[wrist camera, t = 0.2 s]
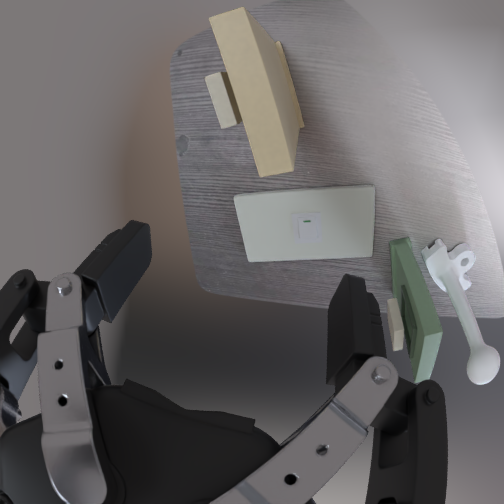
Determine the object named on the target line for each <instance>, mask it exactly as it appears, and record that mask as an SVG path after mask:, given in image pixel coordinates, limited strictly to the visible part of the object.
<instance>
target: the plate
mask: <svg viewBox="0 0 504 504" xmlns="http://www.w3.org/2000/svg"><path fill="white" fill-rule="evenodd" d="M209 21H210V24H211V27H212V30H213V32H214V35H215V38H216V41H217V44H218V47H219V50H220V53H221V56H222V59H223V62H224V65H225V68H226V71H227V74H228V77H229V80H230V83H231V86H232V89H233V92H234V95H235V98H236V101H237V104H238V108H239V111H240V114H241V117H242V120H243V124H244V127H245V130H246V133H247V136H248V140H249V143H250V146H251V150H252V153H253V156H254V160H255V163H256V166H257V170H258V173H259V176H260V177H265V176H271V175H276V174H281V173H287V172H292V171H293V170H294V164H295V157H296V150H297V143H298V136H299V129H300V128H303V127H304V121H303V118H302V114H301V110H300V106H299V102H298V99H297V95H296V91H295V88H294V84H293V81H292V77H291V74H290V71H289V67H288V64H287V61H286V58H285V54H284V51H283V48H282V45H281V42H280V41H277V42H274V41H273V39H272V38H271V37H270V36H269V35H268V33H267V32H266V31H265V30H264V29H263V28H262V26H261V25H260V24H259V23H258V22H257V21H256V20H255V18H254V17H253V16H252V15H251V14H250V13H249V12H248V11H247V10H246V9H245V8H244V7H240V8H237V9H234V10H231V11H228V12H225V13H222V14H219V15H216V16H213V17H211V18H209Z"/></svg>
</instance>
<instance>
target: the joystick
mask: <svg viewBox="0 0 504 504" xmlns="http://www.w3.org/2000/svg"><path fill="white" fill-rule="evenodd" d="M421 254H422V257H423V259H424V262H425V264H426V266H427V268H428V270H429V273H430V275H431V277H432V278H433V280H434V281H435V283H436V284H437V285H438V286H439V287H440V288H441V289H442V290H443V291H445V292H446V293H448V295H449V297H450V299H451V301H452V304H453V306H454V308H455V310H456V313H457V315H458V318H459V320H460V322H461V325H462V327H463V330H464V332H465V335H466V338H467V340H468V343H469V346H470V350H471V353H470V358H469V360H468V363H467V375H468V377H469V379H470V380H471V381H472V382H473V383H475V384H479V385H482V384H486V383H488V382H490V381H491V380H492V379H493V378H494V377H495V376H496V374H497V372H498V370H499V367H500V356H499V354H498V352H497V350H496V349H495V348H493V347H491V346H488V345H486V344H485V343H484V341H483V338H482V335H481V332H480V329H479V327H478V324H477V321H476V319H475V316H474V313H473V311H472V308H471V306H470V304H469V301H468V299H467V296H466V294H465V292H464V291H465V290H467V289H468V288H469V287H470V286H471V284H472V282H471V281H470V279H469V277H468V275H467V274H464V273H465V272H466V271H468V270H469V269H470V268H471V267H472V266H473V264H474V262H475V254H474V252H473V251H472V249H471V248H470V246H469V245H468V244H465V243H463V244H459V245H457V246H456V247H455V248H454V249H453V250H452V251H451V252H447V248H446V246H445V244H444V243H443V241H442V240H441V239H437V240H436V241H435V244H434V245H433V246H432V247H431V248H430V249H428V247H427V246H426V247H425V248H424V249H423V250H422V251H421Z"/></svg>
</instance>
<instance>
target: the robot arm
mask: <svg viewBox="0 0 504 504" xmlns="http://www.w3.org/2000/svg"><path fill="white" fill-rule="evenodd" d="M150 236H151V235H150V226H149V225H148V224H146V223H143V222H138V221H134V220H131V221H129V223H127V224H126V226H125V227H124V228H123V229H122V230H121V229H118V230H116V231H114V232H112V233H110V234H109V235H108V236H107V237H106V238H105V239H104V240H103V241H102V242H101V244H99V245H98V246H97V247H96V248H95V250H93V251H92V252H91V254H90V255H89V256H88V257H87V258H86V259H85V260H84V261H83V262H82V264H81V265H80V266H79V267H78V268H77V269H76V270H75V272H74V273H63V274H60V275H58V276H57V277H55V278H54V279H53V280H52V281H51V282H48V281H37V280H36V277H35V275H34V273H33V272H32V271H31V270H28V269H24V270H20V271H18V272H16V273H15V274H14V275H13V276H12V277H11V278H10V279H9V280H8V281H7V283H6V284H5V285H4V286H3V288H2V289H1V290H0V504H316V503H315V501H314V500H313V498H312V497H313V496H314V495H315V494H316V493H317V492H318V491H319V490H320V489H321V488H322V487H323V486H324V485H325V484H326V483H327V482H328V481H329V480H330V479H331V478H332V477H333V476H334V475H335V474H336V473H337V471H338V470H339V469H340V468H341V467H342V466H343V465H344V464H345V462H346V461H347V460H348V459H349V458H350V457H351V456H352V454H353V453H354V452H355V451H356V450H357V448H358V447H359V446H360V445H361V443H362V442H363V441H364V440H365V438H366V437H367V435H368V431H367V428H368V426H369V425H370V426H372V427H374V438H373V450H372V460H371V468H370V476H369V484H368V490H367V496H366V502H365V504H445V499H446V487H447V469H448V468H447V466H448V438H447V420H446V419H447V418H446V406H445V397H444V393H443V390H442V388H441V387H440V386H439V384H437V383H436V382H435V381H433V380H428V379H427V380H423V381H422V382H420V384H418V385H416V384H413V383H411V382H409V381H407V380H405V379H402V378H400V377H399V376H398V372H397V370H396V368H395V366H394V365H393V363H391V362H390V361H389V360H388V359H387V357H386V349H385V341H384V334H383V328H382V326H381V325H382V321H381V317H380V309H379V304H378V302H377V300H376V299H375V297H374V295H373V294H372V293H369V292H367V291H366V285H365V280H364V278H362V277H358V276H354V275H350V274H345V275H344V276H343V278H342V280H341V282H340V284H339V286H338V288H337V290H336V292H335V294H334V296H333V298H332V300H331V302H330V305H329V309H328V346H327V376H326V384H328V385H335V393H334V394H333V395H332V396H331V397H330V398H329V400H327V401H326V402H325V403H324V404H323V405H322V406H321V408H319V409H318V410H317V411H316V412H315V413H314V414H313V415H312V416H311V417H310V418H309V419H308V420H307V421H306V422H305V423H304V424H303V425H302V426H301V427H300V428H298V429H297V430H296V431H295V432H294V433H292V434H291V435H290V436H289V437H288V438H287V439H286V440H284V441H283V442H282V443H281V444H280V445H279V444H278V443H277V442H276V441H275V440H274V439H273V438H272V437H271V436H269V435H268V434H267V433H265V432H264V431H262V430H261V429H259V428H257V427H255V426H254V423H255V419H251V418H246V417H242V416H238V415H234V414H229V413H226V412H220V411H199V410H186V409H184V408H182V407H180V406H179V405H177V404H175V403H174V402H172V401H171V400H169V399H168V398H166V397H164V396H163V395H161V394H160V393H158V392H157V391H155V390H153V389H151V388H148V387H145V386H143V385H140V384H138V383H136V382H133V381H131V380H128V379H126V380H125V382H124V385H111V381H110V378H109V376H108V373H107V370H106V367H105V362H104V356H103V350H102V344H101V337H100V329H99V326H98V324H99V323H100V321H101V320H104V321H107V322H109V323H112V321H113V319H114V318H115V316H116V315H117V313H118V311H119V310H120V308H121V307H122V305H123V304H124V302H125V301H126V299H127V298H128V296H129V295H130V293H131V292H132V290H133V289H134V287H135V286H136V284H137V283H138V281H139V280H140V278H141V277H142V275H143V274H144V272H145V271H146V270H147V268H148V267H149V265H150V262H151V258H152V248H151V237H150ZM21 316H23V317H24V319H25V320H26V322H25V323H24V325H23V326H22V328H21V330H20V331H19V333H18V334H17V336H16V337H15V339H14V341H13V342H12V344H10V341H9V337H10V333H11V332H12V330H13V329H14V327H15V325H16V324H17V322H18V321H19V319H20V318H21ZM37 362H38V383H39V396H40V405H41V413H40V414H38V415H35V416H33V417H31V418H28V419H26V420H24V421H21V422H19V423H16V421H19V420H20V419H21V416H22V415H21V411H20V409H19V408H18V407H19V405H18V400H19V398H20V396H21V394H22V391H23V389H24V387H25V385H26V383H27V381H28V379H29V377H30V375H31V373H32V371H33V369H34V368H35V366H36V364H37Z"/></svg>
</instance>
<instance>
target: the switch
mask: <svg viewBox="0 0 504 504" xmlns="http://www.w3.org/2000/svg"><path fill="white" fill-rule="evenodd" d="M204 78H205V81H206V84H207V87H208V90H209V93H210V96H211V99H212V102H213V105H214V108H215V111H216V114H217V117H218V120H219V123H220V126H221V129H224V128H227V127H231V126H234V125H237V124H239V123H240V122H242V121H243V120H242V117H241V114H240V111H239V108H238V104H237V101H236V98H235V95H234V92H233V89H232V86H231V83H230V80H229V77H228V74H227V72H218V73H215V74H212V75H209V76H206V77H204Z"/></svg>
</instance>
